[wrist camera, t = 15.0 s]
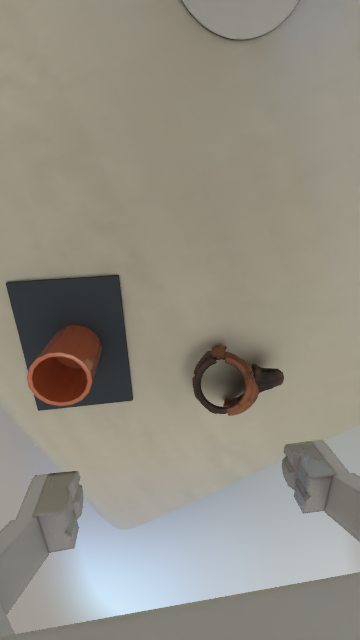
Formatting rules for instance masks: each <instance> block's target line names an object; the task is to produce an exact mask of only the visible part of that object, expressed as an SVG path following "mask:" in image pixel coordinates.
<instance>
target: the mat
mask: <svg viewBox="0 0 360 640" xmlns="http://www.w3.org/2000/svg"><path fill="white" fill-rule="evenodd" d="M6 286H7V290H8V294H9V298H10V302H11V306H12V310H13V314H14V318H15V322H16V325H17V329H18V333H19V337H20V341H21V345H22V349H23V353H24V357H25V361H26V365H27V369H28V371H29V368H30V366H31V365H32V363H33V362H34V361H35V359H36V358H37V357H38V356H39V354H40V353H41V352H42V350H43V349H44V348H45V346H46V345H47V344H48V342H49V341H50V340H51V339H52V337H53V336H54V335H55V334H56V333H57V331H59V330H60V329H62V328H63V327H66V326H70V325H80V326H84V327H87V328H89V329H90V330H92V331H93V332H94V333H95V334H96V335H97V336H98V337H99V339H100V342H101V345H102V352H101V355H100V359H99V362H98V365H97V368H96V371H95V375H94V378H93V381H92V384H91V388H90V391H89V393H88V394H87V395H86V396H85V397H84V398H83V399H82V400H81V401H79V402H77V403H74V404H72V405H66V406H56V405H51V404H48V403H45V402H44V401H42V400H40V399H39V398H37V397H36V396H35V394H34V396H35V400H36V404H37V408H38V411H39V410H48V409H58V408H67V407H76V406H86V405H95V404H105V403H114V402H123V401H132V400H133V396H132V387H131V379H130V370H129V361H128V352H127V344H126V335H125V326H124V317H123V309H122V300H121V291H120V282H119V275H113V276H97V277H81V278H64V279H48V280H32V281H16V282H7V283H6Z"/></svg>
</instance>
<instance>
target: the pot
mask: <svg viewBox="0 0 360 640" xmlns="http://www.w3.org/2000/svg"><path fill="white" fill-rule="evenodd" d="M101 352H102V345H101V342H100V339H99V337H98V336H97V335H96V334H95V333H94V332H93V331H92V330H90V329H89V328H87V327H84V326H80V325H70V326H66V327H63V328H62V329H60V330H59V331H57V333H56V334H55V335H54V336H53V337H52V339H51V340H50V341H49V342H48V344H47V345H46V346H45V348H44V349H43V350H42V352H41V353H40V354H39V356H38V357H37V358H36V359H35V361H34V362H33V363H32V365H31V366H30V368H29V371H28V376H27V380H28V384H29V388H30V389H31V391H32V392H33V393H34V394H35V396H36V397H37V398H39V399H40V400H42V401H44V402H45V403H48V404H51V405H56V406H66V405H72V404H74V403H77V402H79V401H81V400H82V399H83V398H84V397H85V396H86V395H87V394H88V393H89V391H90V388H91V384H92V381H93V378H94V375H95V371H96V368H97V365H98V362H99V359H100V355H101Z"/></svg>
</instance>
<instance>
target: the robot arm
mask: <svg viewBox="0 0 360 640" xmlns="http://www.w3.org/2000/svg"><path fill="white" fill-rule="evenodd" d="M182 2H183V3H184V5H185V6H186V8H187V9H188V10H189V12H190V13H191V14H192V15H193V16H194V17H195V18H196V19H197V20H198V21H199V22H200V23H201V24H202V25H203V26H205V27H206V28H207V29H209V30H210V31H212V32H214V33H216V34H218V35H220V36H223V37H226V38H230V39H239V40H242V39H251V38H256V37H259V36H261V35H264V34H266V33H268V32H270V31H271V30H273V29H274V28H276V27H277V26H278V25H279V24H280V23H282V22H283V21H284V20H285V19H286V18H287V17H288V15H289V14H290V13H291V12H292V10H293V9H294V8H295V6H296V5H297V3H298V2H299V0H182ZM284 453H285V455H286V457H285V458H284V459H283V460H282V470H283V474H284V477H285V480H286V482H287V484H288V486H290V487H291V488H292V489H294V490H295V493H294V497H295V499H296V501H297V503H298V505H299V506H300V508H301V510H302V512H303V513H310V512H318V511H325V513H326V514H328V515H329V516H330V517H331V518H333V519H334V520H335V521H336V522H337V523H338V524H339V525H340V526H342V527H343V528H344V529H345V530H346V531H348V532H349V533H350V534H351V535H352V536H353V537H355V538H356V539H357V540H358V541H359V542H360V476H358V475H356V474H354V473H349V472H348V470H347V469H346V468H345V467H344V465H343V464H342V463H341V462H340V460H339V459H338V458H337V457H336V455H335V454H334V453H333V452H332V450H331V449H330V448H329V447H328V445H327V444H326V443H325V442H324V441H323V440H316V441H310V442H308V441H307V442H300V443H293V444H286V445H285V447H284ZM79 480H80V476H79V472H78V471H72V472H61V473H53V474H52V473H51V474H44V475H35V477H34V478H33V479H32V481H31V484H30V486H29V488H28V491H27V493H26V496H25V498H24V501H23V503H22V505H21V508H20V510H19V513H18V515H17V517H16V520H12V521H10V522H9V523H8V524H7V525H6V526H5V527H4V528H3V529H2V530H1V531H0V640H360V572H359V573H354V574H348V575H342V576H337V577H331V578H326V579H320V580H315V581H309V582H303V583H298V584H292V585H287V586H281V587H275V588H270V589H265V590H259V591H253V592H248V593H242V594H236V595H231V596H225V597H220V598H215V599H209V600H203V601H198V602H192V603H187V604H181V605H175V606H170V607H165V608H159V609H154V610H148V611H142V612H137V613H132V614H125V615H120V616H114V617H109V618H104V619H98V620H92V621H87V622H81V623H76V624H70V625H64V626H59V627H54V628H48V629H42V630H37V631H31V632H26V633H20V634H15V633H14V631H13V629H12V627H11V625H10V622H9V620H8V618H7V616H6V615H7V614H8V612H9V610H10V609H11V608H12V606H13V605H14V604H15V602H16V601H17V599H18V598H19V596H20V595H21V594H22V592H23V591H24V589H25V588H26V587H27V585H28V584H29V582H30V581H31V579H32V578H33V576H34V575H35V574H36V572H37V571H38V569H39V568H40V566H41V565H42V564H43V562H44V561H45V559H46V558H47V557H48V555H49V553H51V552H56V551H62V550H67V549H73V548H75V542H76V538H77V533H78V528H79V527H78V523H77V519H78V518H79V517H80V516H81V513H82V507H83V489H82V486H81V485H79Z"/></svg>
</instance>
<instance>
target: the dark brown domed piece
mask: <svg viewBox="0 0 360 640" xmlns="http://www.w3.org/2000/svg"><path fill="white" fill-rule="evenodd" d="M225 350H226V346H217V347H214V348H212V351H208V352H207V353H206V354H205V355H204V356H203V357H202V358H201V360H200V361H199V362H198V364H197V366H196V368H195V370H194V374H195V375H194V377H193V388H194V393H195V397H196V398H197V399H198V400H199V401H200V402H201V404H202V405H203V406H204V407H205V408H207V409H208V410H209V411H210V412H212V413H215V414H216V413H219V414H226V413H228V415H229V416H230V415H237V414H240V413H242V412H244V411H246V410H247V409H248V408H249V407H251V406H252V404H253V403H254V402H255V401H256V399H257V397H258V394H259V393H260V392H262V391H265V390H268V389H272V388H273V387H276V386H278V385H281V384H282V383H283V380H284V376H283V372H281V371H280V370H279V369H272V368H261V367H259V366H257V365H256V364H252V368H253V376H254V377H252V375H251V372H252V368H251V367H250V366H249V365H248V364H247V363H246V362H245V361H244V360H242V359H240V358H239V357H237V356H236V355H234V354H232V353H228V352H225ZM220 359H223V360H225V362H226V363H228V364H231V365H233V366H235V367H236V368H237V369H238V370H239V371H240V372H241V374H242V375H243V378H244V381H245V390H244V393H243V394H242V395H241V396H239V397H237V398H232V399H225V402H224V407H219V406H216V405H213V404H212V403H210V402H209V401H208V400H207V399H206V398H205V397H204V395H203V393H202V390H201V378H202V375H203V373H204V372H205V370H206V369H207V368H208V367H209V366H211V365H213V364H215V363H217V362H216V360H220Z"/></svg>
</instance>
